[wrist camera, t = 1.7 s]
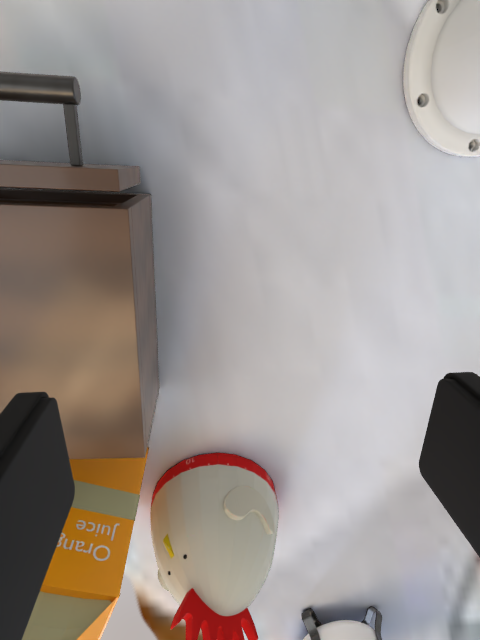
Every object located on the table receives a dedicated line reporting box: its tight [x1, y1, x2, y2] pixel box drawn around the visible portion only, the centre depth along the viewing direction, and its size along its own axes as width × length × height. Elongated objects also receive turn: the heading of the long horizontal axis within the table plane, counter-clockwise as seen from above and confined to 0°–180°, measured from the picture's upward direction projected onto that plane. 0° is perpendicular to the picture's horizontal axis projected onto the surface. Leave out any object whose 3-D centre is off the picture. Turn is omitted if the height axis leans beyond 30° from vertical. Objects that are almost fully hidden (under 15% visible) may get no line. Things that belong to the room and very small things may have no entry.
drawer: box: [0, 72, 140, 207], centre depth 26 cm, size 21×12×7 cm, turn 177°
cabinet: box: [0, 188, 160, 459], centre depth 28 cm, size 18×13×9 cm
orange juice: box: [22, 448, 149, 640], centre depth 31 cm, size 8×9×20 cm
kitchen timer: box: [151, 453, 279, 640], centre depth 36 cm, size 14×14×15 cm
